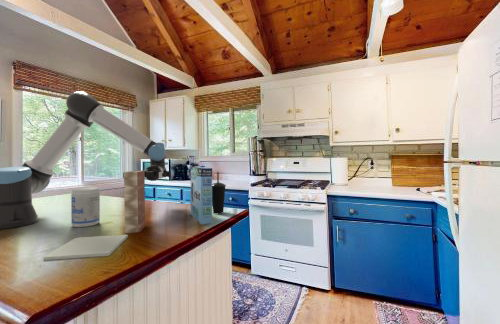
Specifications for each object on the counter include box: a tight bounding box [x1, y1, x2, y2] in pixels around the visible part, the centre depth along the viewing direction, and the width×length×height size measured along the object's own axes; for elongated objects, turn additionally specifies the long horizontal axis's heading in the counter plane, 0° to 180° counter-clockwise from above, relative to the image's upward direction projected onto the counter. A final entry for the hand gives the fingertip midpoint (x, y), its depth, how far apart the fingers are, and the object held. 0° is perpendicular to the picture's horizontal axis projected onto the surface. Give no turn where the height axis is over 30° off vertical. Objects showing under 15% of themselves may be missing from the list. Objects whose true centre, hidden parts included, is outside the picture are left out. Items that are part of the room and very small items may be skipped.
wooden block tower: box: [123, 170, 146, 234], centre depth 91 cm, size 5×8×22 cm, turn 10°
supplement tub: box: [70, 187, 101, 228], centre depth 99 cm, size 10×10×15 cm
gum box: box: [190, 165, 213, 226], centre depth 106 cm, size 20×5×23 cm, turn 26°
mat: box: [43, 234, 129, 261], centre depth 74 cm, size 16×16×1 cm
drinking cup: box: [212, 171, 227, 214], centre depth 118 cm, size 8×8×20 cm
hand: (142, 176), depth 101 cm, fingers open, 13 cm apart
